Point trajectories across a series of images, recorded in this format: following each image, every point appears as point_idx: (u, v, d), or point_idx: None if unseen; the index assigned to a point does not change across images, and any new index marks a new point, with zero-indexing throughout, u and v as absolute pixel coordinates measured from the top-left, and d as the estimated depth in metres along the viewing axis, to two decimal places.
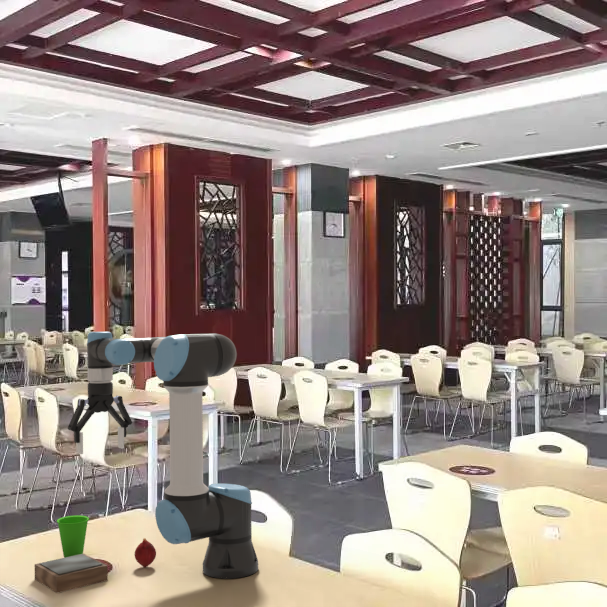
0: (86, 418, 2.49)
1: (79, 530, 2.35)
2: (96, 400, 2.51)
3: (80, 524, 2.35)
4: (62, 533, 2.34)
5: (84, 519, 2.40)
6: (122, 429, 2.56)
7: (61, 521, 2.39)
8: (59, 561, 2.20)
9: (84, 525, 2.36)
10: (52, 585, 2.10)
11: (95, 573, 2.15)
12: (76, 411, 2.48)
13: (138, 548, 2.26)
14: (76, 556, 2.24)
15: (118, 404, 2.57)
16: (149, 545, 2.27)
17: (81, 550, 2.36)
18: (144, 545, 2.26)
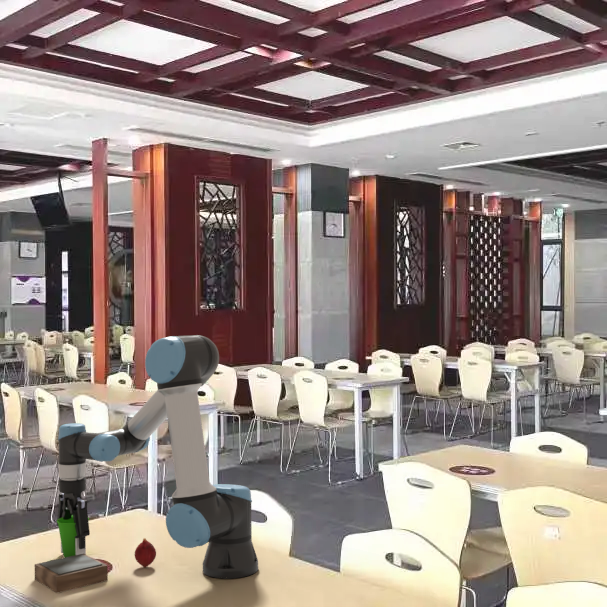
0: (62, 515, 2.40)
1: None
2: (66, 495, 2.38)
3: None
4: (62, 533, 2.34)
5: None
6: (76, 539, 2.33)
7: (61, 521, 2.39)
8: (59, 561, 2.20)
9: None
10: (52, 585, 2.10)
11: (95, 573, 2.15)
12: None
13: (138, 548, 2.26)
14: (76, 556, 2.24)
15: None
16: (149, 545, 2.27)
17: None
18: (144, 545, 2.26)
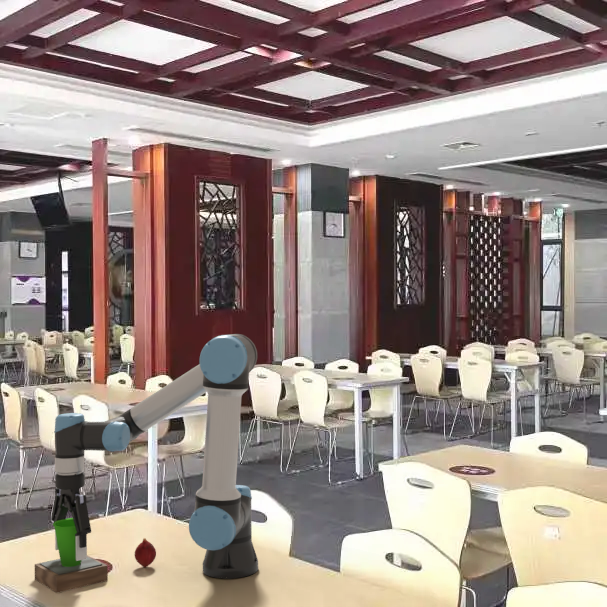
0: (58, 511, 2.21)
1: None
2: (63, 492, 2.19)
3: None
4: (59, 537, 2.15)
5: None
6: (76, 537, 2.12)
7: (58, 524, 2.19)
8: (59, 561, 2.20)
9: None
10: (52, 585, 2.10)
11: (95, 573, 2.15)
12: None
13: (138, 548, 2.26)
14: None
15: None
16: (149, 545, 2.27)
17: None
18: (144, 545, 2.26)
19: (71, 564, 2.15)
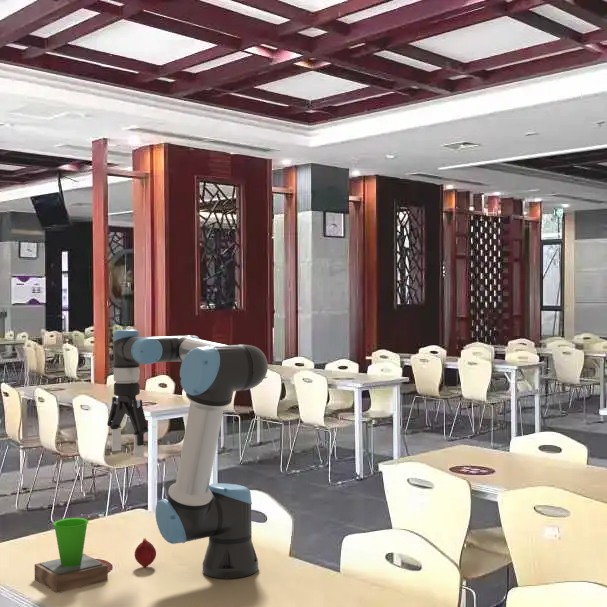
0: (115, 416, 2.47)
1: (77, 534, 2.15)
2: (120, 400, 2.44)
3: (79, 527, 2.15)
4: (59, 537, 2.15)
5: (83, 522, 2.20)
6: (134, 436, 2.37)
7: (58, 524, 2.19)
8: (59, 561, 2.20)
9: (83, 528, 2.16)
10: (52, 585, 2.10)
11: (95, 573, 2.15)
12: None
13: (138, 548, 2.26)
14: None
15: None
16: (149, 545, 2.27)
17: (80, 556, 2.17)
18: (144, 545, 2.26)
19: (71, 564, 2.15)
